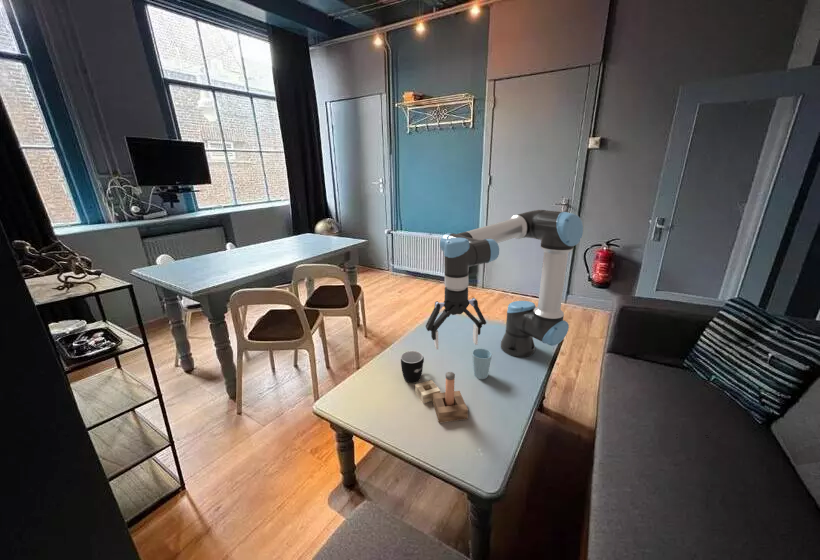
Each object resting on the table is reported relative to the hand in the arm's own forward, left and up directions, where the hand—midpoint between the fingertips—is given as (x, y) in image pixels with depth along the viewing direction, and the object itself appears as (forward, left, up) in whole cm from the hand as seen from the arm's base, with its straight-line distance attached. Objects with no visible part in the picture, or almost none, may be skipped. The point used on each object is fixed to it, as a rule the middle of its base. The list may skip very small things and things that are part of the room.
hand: (455, 345), depth 111 cm
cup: (-15, -14, -24) cm, 32 cm away
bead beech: (+9, -6, -24) cm, 26 cm away
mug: (+12, -18, -24) cm, 33 cm away
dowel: (+3, +4, -24) cm, 24 cm away
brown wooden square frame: (+3, +4, -24) cm, 24 cm away
